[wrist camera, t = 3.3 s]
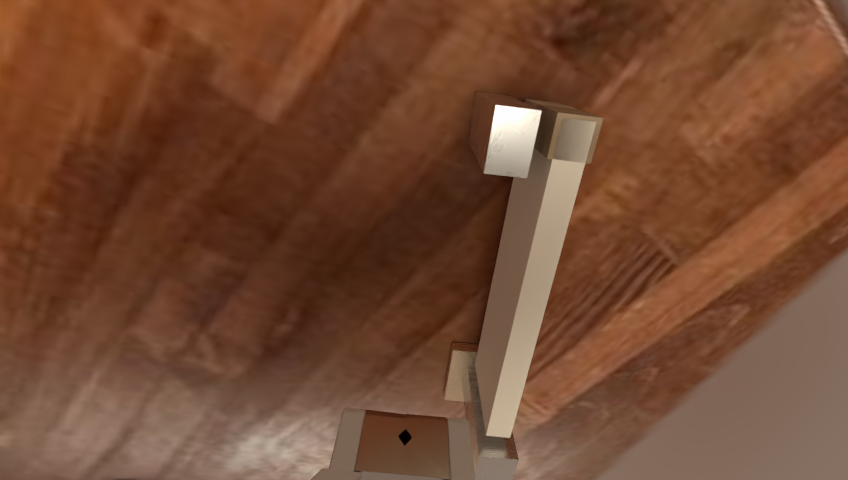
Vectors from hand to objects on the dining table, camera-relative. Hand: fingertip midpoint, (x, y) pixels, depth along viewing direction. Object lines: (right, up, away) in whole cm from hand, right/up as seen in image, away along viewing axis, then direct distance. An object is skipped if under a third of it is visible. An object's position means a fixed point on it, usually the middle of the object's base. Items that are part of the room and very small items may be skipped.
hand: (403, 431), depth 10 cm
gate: (+6, +4, +18) cm, 19 cm away
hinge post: (+5, -6, +23) cm, 25 cm away
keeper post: (+4, +12, +16) cm, 20 cm away
